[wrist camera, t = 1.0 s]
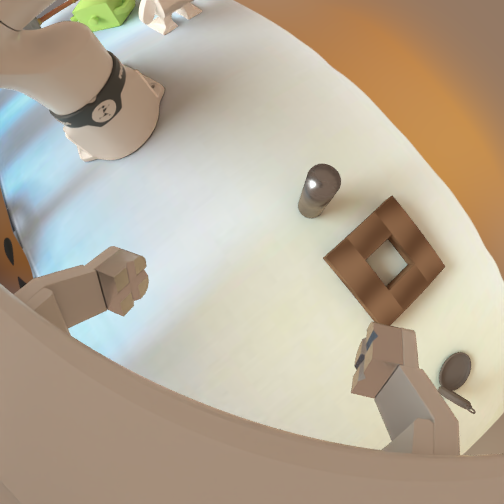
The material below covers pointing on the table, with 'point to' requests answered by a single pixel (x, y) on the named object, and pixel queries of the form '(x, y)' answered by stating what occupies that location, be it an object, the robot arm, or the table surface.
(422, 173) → the table surface
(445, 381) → the pocket watch
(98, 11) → the lime green lipped cube
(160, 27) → the toy robot
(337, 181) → the steel pin
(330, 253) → the socket plate
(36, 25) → the hammer
